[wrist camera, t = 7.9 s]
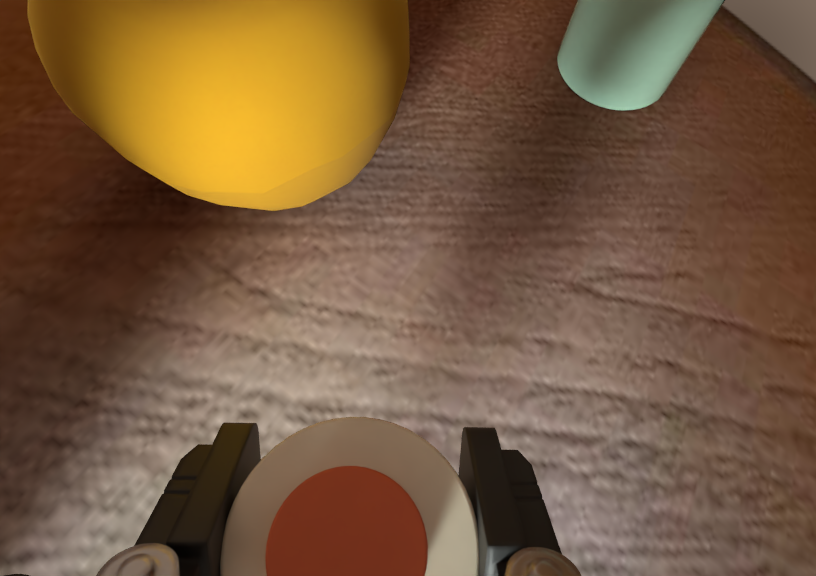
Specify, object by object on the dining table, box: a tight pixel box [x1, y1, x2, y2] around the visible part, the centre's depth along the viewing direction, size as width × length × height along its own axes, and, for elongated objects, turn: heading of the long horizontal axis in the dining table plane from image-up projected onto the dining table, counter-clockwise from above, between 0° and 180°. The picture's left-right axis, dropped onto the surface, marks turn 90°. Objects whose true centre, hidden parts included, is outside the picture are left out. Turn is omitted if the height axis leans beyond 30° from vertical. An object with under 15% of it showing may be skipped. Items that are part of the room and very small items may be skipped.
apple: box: [28, 0, 410, 211], centre depth 21 cm, size 13×13×11 cm
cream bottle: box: [220, 417, 479, 576], centre depth 13 cm, size 5×5×9 cm
